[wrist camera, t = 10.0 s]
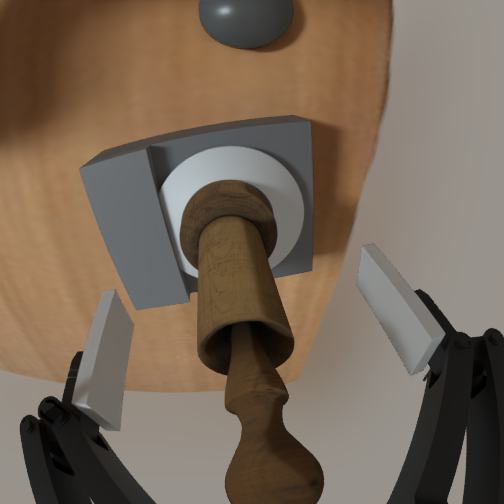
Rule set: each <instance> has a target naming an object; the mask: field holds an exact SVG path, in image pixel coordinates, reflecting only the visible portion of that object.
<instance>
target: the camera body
mask: <svg viewBox="0 0 504 504" xmlns="http://www.w3.org/2000/svg"><path fill="white" fill-rule="evenodd" d="M79 170H80V173H81V177H82V180H83V183H84V186H85V189H86V192H87V195H88V198H89V201H90V204H91V207H92V210H93V213H94V215H95V218H96V221H97V224H98V226H99V229H100V231H101V234H102V236H103V239H104V241H105V244H106V246H107V249H108V251H109V253H110V256H111V258H112V260H113V263H114V265H115V267H116V269H117V272H118V274H119V276H120V278H121V280H122V282H123V285H124V287H125V289H126V291H127V293H128V295H129V297H130V299H131V301H132V303H133V305H134V307H135V309H136V310H141V309H148V308H155V307H162V306H169V305H175V304H182V303H188V302H190V293H192V292H198V270H197V269H195V268H194V267H193V266H192V265H191V264H190V263H189V262H188V261H187V259H186V258H185V256H184V254H183V252H182V249H181V246H180V240H179V233H180V226H181V219H182V214H183V211H184V209H185V206H186V204H187V203H188V201H189V199H190V198H191V197H192V196H193V195H194V193H196V192H197V191H198V190H199V189H200V188H202V187H203V186H205V185H207V184H209V183H212V182H215V181H220V180H237V181H241V182H244V183H247V184H249V185H251V186H253V187H254V188H256V189H257V190H258V191H259V192H260V193H261V194H262V195H263V196H264V197H265V199H266V200H267V202H268V204H269V206H270V208H271V211H272V213H273V215H274V218H275V220H276V224H277V231H278V236H277V243H276V246H275V249H274V251H273V253H272V254H271V256H270V257H269V259H268V261H269V265H270V268H271V271H272V274H273V277H274V278H278V277H283V276H288V275H294V274H299V273H304V272H309V271H312V262H313V164H312V137H311V121H308V120H306V119H303V118H300V117H298V116H295V115H290V116H277V117H266V118H257V119H248V120H240V121H233V122H226V123H220V124H214V125H208V126H202V127H196V128H191V129H186V130H181V131H176V132H172V133H167V134H163V135H159V136H154V137H150V138H146V139H142V140H139V141H135V142H131V143H128V144H124V145H121V146H117V147H114V148H111V149H107V150H104V151H102V152H101V153H100V154H98V155H97V156H95V157H94V158H93V159H91V160H90V161H89V162H87V163H86V164H85V165H83V166H82V167H81V168H79Z"/></svg>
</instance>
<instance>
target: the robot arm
mask: <svg viewBox="0 0 504 504" xmlns="http://www.w3.org/2000/svg"><path fill="white" fill-rule="evenodd" d="M356 286H357V287H358V289H359V290H360V292H361V293H362V295H363V297H364V298H365V300H366V301H367V303H368V304H369V306H370V308H371V309H372V311H373V313H374V314H375V316H376V317H377V319H378V321H379V322H380V324H381V326H382V327H383V329H384V331H385V333H386V334H387V336H388V338H389V339H390V341H391V343H392V345H393V346H394V348H395V350H396V352H397V353H398V355H399V357H400V359H401V360H402V362H403V364H404V366H405V368H406V369H407V371H408V373H409V375H410V376H412V375H414V374H417V373H419V372H421V371H423V370H424V368H425V367H426V365H427V364H428V365H429V366H430V370H429V371H428V373H427V374H426V375H425V377H424V379H423V381H425V380H426V379H427V383H426V388H425V393H424V397H423V402H422V406H421V410H420V414H419V417H418V421H417V425H416V429H415V432H414V435H413V438H412V442H411V444H410V448H409V451H408V454H407V456H406V459H405V462H404V465H403V467H402V470H401V472H400V475H399V477H398V480H397V482H396V485H395V487H394V490H393V492H392V494H391V496H390V499H389V500H388V502H387V504H448V502H447V498H448V495H449V492H450V489H451V486H452V483H453V479H454V476H455V473H456V469H457V465H458V461H459V458H460V454H461V449H462V445H463V440H464V435H465V430H466V432H467V453H466V455H467V456H466V474H465V485H464V495H463V503H462V504H504V337H503V335H502V334H501V332H500V331H498V330H497V329H494V328H490V329H488V330H486V332H485V333H484V335H483V336H480V337H472V338H471V337H469V336H468V335H467V334H465V333H463V332H457V331H456V330H455V329H454V328H453V327H452V325H451V324H450V322H449V321H448V320H447V318H446V317H445V316H444V315H443V313H442V312H441V310H439V308H438V307H437V305H436V304H434V301H433V300H432V299H431V298H430V296H429V295H428V294H426V293H425V292H423V291H422V290H420V289H419V290H416V291H414V290H413V289H412V288H411V287H410V286H409V284H408V283H407V282H406V281H405V279H404V278H403V277H402V276H401V274H400V273H399V272H398V271H397V269H395V267H394V266H393V265H392V264H391V262H390V261H389V260H388V259H387V258H386V257H385V255H384V254H383V253H382V252H381V251H380V250H379V248H378V247H377V246H376V245H375V244H369V245H364V246H362V250H361V257H360V264H359V271H358V277H357V283H356ZM133 329H134V323H133V322H132V320H131V318H130V316H129V314H128V313H127V311H126V309H125V307H124V305H123V303H122V301H121V299H120V297H119V296H118V294H117V292H116V290H115V289H114V290H107V291H103V293H102V296H101V299H100V301H99V304H98V307H97V310H96V313H95V316H94V319H93V322H92V325H91V329H90V332H89V335H88V338H87V342H86V345H85V349H84V351H81V352H77V353H76V355H75V357H74V358H73V360H72V362H71V366H70V371H69V373H68V379H67V381H66V385H65V389H64V394H63V398H62V402H60V401H59V400H58V399H57V398H55V397H53V396H49V397H46V398H44V399H43V400H42V401H41V403H40V405H39V408H38V416H39V417H40V418H41V419H39V420H38V419H37V418H36V417H34V416H32V415H27V416H25V417H24V418H23V419H22V421H21V423H20V435H21V442H22V448H23V453H24V459H25V464H26V468H27V473H28V477H29V480H30V484H31V488H32V492H33V495H34V498H35V501H36V504H92V502H91V499H92V501H93V502H94V504H156V503H155V502H154V501H153V500H152V498H151V497H150V496H149V495H148V494H147V493H146V492H145V491H144V490H143V488H142V487H141V486H140V485H139V484H138V483H137V481H136V480H135V479H134V478H133V476H132V475H131V474H130V473H129V471H128V470H127V469H126V468H125V466H124V465H123V464H122V462H121V461H120V460H119V458H118V457H117V456H116V454H115V453H114V451H113V450H112V449H111V447H110V446H109V444H108V443H107V441H106V440H105V438H104V437H103V435H102V434H101V433H100V432H99V426H101V427H102V428H103V429H105V430H108V431H120V426H121V414H122V404H123V395H124V387H125V379H126V372H127V365H128V358H129V352H130V346H131V340H132V334H133ZM427 377H428V378H427ZM90 498H91V499H90Z"/></svg>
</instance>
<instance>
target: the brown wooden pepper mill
mask: <svg viewBox="0 0 504 504" xmlns="http://www.w3.org/2000/svg"><path fill="white" fill-rule="evenodd" d="M277 236H278V231H277V224H276V220H275V218H274V215H273V213H272V211H271V208H270V206H269V204H268V202H267V200H266V199H265V197H264V196H263V195H262V194H261V193H260V192H259V191H258V190H257V189H256V188H254V187H253V186H251V185H249V184H247V183H244V182H241V181H237V180H220V181H215V182H212V183H209V184H207V185H205V186H203V187H202V188H200V189H199V190H198V191H197V192H196V193H194V195H193V196H192V197H191V198H190V199H189V201H188V203H187V204H186V206H185V209H184V211H183V214H182V219H181V226H180V233H179V240H180V246H181V249H182V252H183V254H184V256H185V258H186V259H187V261H188V262H189V263H190V264H191V265H192V266H193V267H194V268H195V269H197V270H198V312H197V351H198V356H199V358H200V360H201V361H202V363H203V364H204V365H205V366H207V367H208V368H209V369H211V370H213V371H215V372H217V373H220V374H223V375H228V377H227V383H226V389H225V408H226V410H227V411H229V412H230V413H232V414H235V415H237V416H238V418H239V420H240V422H241V425H242V434H241V440H240V442H239V445H238V447H237V449H236V451H235V454H234V456H233V458H232V461H231V463H230V465H229V468H228V470H227V473H226V477H225V489H226V493H227V497H228V499H229V501H230V503H231V504H317V502H318V501H319V499H320V497H321V494H322V491H323V487H324V476H323V471H322V468H321V465H320V464H319V462H318V461H317V459H316V458H315V457H314V456H313V454H311V453H310V452H309V451H308V450H307V449H306V448H305V447H304V446H303V445H302V444H301V443H300V442H299V441H297V440H296V439H295V438H294V437H293V436H292V435H291V434H290V433H289V432H288V431H287V430H286V428H285V426H284V424H283V418H282V409H283V405H285V403H286V402H287V401H288V398H289V394H288V392H287V389H286V387H285V385H284V383H283V381H282V379H281V377H280V375H279V374H278V372H277V370H276V369H275V368H277V367H278V366H280V365H282V364H283V363H284V362H285V361H286V360H287V359H288V358H289V357H290V356H291V354H292V352H293V349H294V337H293V334H292V331H291V328H290V325H289V322H288V319H287V316H286V313H285V310H284V308H283V305H282V302H281V299H280V296H279V292H278V289H277V286H276V283H275V280H274V277H273V274H272V271H271V268H270V265H269V261H268V259H269V257H270V256H271V254H272V253H273V251H274V249H275V246H276V243H277Z"/></svg>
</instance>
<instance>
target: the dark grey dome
mask: <svg viewBox="0 0 504 504" xmlns="http://www.w3.org/2000/svg"><path fill="white" fill-rule="evenodd" d="M293 12H294V10H293V3H292V0H200V3H199V17H200V21H201V24H202V26H203V28H204V29H205V31H206V32H207V33H208V34H209V35H210V36H211V37H212V38H213V39H215V40H216V41H218V42H219V43H221V44H224V45H226V46H229V47H233V48H239V49H252V48H258V47H262V46H265V45H267V44H269V43H271V42H273V41H274V40H276V39H277V38H279V37H280V36H281V35H283V34H284V33H285V32H286V30H287V29H288V28H289V26H290V24H291V22H292V19H293Z"/></svg>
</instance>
